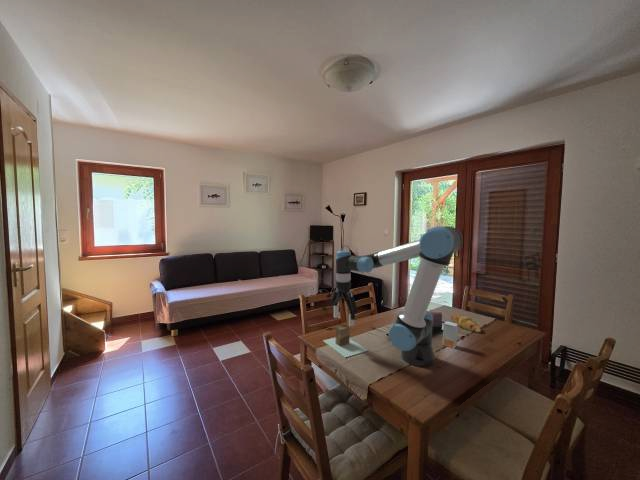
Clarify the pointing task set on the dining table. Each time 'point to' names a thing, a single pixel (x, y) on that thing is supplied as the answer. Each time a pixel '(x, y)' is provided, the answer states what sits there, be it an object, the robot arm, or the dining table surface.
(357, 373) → the dining table surface
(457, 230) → the robot arm
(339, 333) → the walnut block
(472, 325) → the croissant
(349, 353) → the mat
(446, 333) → the skincare box
